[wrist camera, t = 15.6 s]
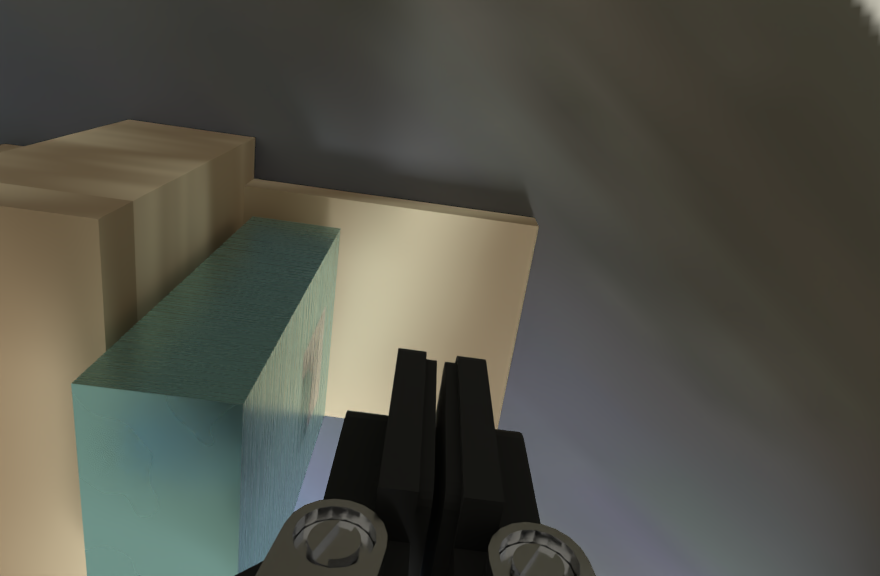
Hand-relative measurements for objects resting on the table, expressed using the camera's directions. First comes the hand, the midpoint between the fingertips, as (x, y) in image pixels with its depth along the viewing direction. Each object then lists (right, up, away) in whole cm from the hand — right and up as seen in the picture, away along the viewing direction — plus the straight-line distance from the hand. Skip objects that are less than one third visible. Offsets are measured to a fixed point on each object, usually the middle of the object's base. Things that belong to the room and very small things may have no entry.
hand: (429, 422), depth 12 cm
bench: (-4, +2, +5) cm, 7 cm away
